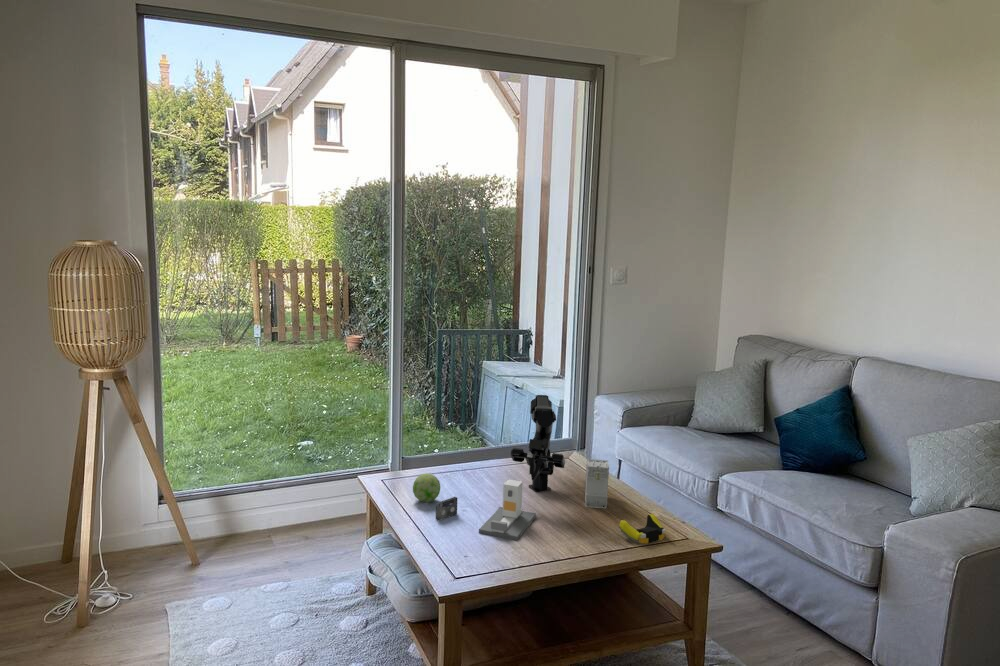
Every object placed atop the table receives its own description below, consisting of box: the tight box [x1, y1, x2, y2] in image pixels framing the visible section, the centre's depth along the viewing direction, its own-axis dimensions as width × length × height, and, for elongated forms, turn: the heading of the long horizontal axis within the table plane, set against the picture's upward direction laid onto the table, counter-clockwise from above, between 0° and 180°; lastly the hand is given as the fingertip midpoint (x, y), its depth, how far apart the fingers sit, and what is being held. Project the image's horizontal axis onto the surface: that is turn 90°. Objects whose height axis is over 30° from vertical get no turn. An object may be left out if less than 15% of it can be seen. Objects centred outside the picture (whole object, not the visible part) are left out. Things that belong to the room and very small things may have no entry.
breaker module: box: [502, 479, 524, 520], centre depth 240 cm, size 6×5×12 cm
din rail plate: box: [478, 506, 537, 541], centre depth 238 cm, size 20×13×4 cm, turn 160°
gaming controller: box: [618, 513, 666, 545], centre depth 232 cm, size 15×6×10 cm
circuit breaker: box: [584, 458, 610, 509], centre depth 261 cm, size 8×14×15 cm, turn 174°
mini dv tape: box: [435, 496, 458, 521], centre depth 243 cm, size 8×2×6 cm, turn 135°
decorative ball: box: [412, 473, 441, 503], centre depth 255 cm, size 10×10×10 cm
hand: (532, 480), depth 248 cm, fingers closed
